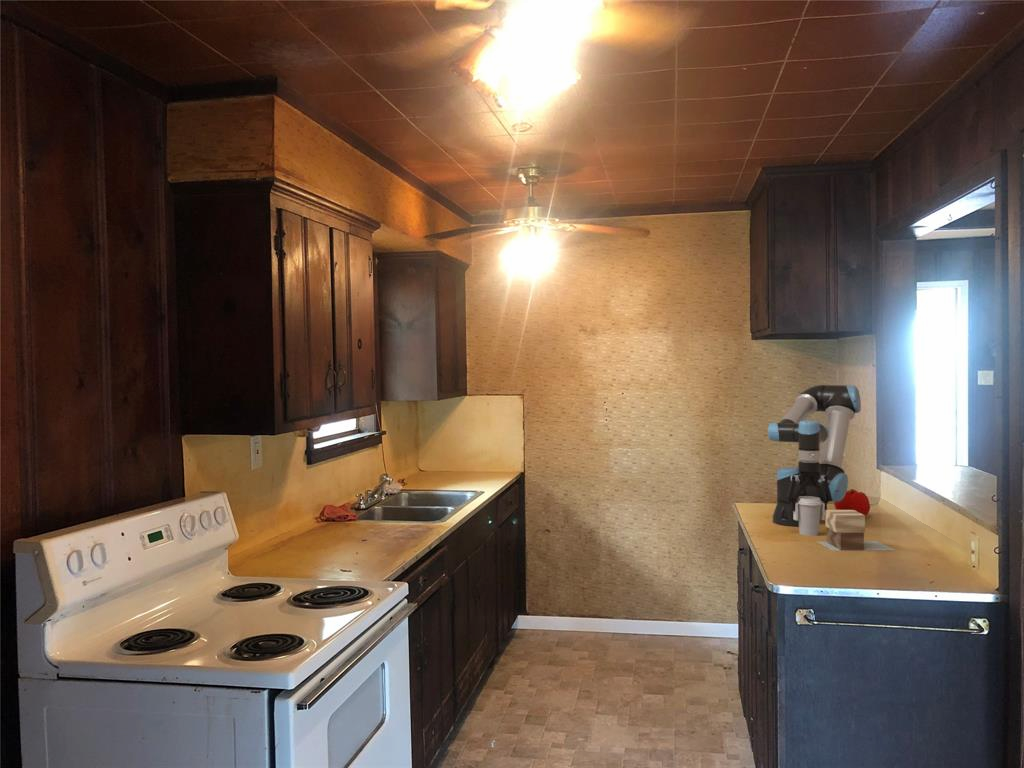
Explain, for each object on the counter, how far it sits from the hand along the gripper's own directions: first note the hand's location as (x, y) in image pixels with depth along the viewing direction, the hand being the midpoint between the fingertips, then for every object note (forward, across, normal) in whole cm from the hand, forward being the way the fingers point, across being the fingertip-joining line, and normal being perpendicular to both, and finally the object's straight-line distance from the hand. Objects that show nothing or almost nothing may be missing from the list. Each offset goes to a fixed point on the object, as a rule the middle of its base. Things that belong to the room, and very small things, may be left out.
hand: (808, 519), depth 289 cm
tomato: (+7, +33, +37) cm, 50 cm away
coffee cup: (+7, 0, 0) cm, 7 cm away
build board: (+7, +9, -20) cm, 22 cm away
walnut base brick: (+5, +5, -20) cm, 21 cm away
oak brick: (-1, +5, -20) cm, 21 cm away
